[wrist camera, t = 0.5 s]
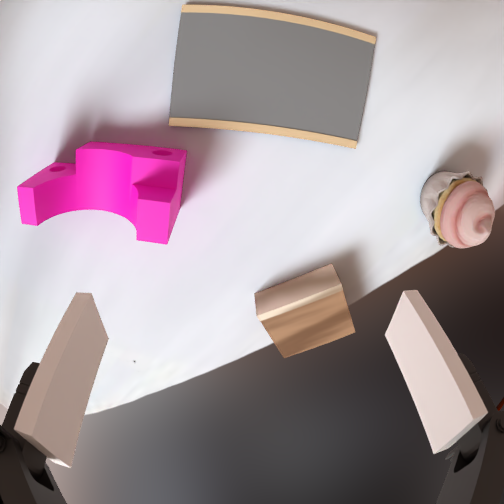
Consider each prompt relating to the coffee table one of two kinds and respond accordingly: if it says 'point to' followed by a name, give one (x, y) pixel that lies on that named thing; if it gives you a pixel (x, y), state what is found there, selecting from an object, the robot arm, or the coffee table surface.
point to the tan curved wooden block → (305, 311)
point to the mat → (270, 74)
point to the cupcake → (457, 209)
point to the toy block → (111, 187)
